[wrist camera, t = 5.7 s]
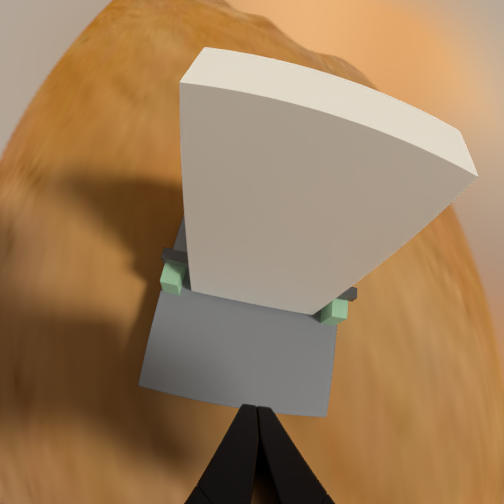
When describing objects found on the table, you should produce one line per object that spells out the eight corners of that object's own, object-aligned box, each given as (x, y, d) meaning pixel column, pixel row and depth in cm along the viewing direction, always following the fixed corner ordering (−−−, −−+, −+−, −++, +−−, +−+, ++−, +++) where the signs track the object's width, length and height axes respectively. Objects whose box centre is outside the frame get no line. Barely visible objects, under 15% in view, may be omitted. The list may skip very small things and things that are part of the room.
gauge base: (317, 415, 14) (380, 425, 8) (143, 385, 13) (104, 384, 8) (333, 253, 18) (383, 195, 12) (185, 221, 17) (182, 146, 12)
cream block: (337, 319, 15) (513, 197, 5) (163, 284, 14) (107, 77, 4) (339, 291, 15) (494, 152, 5) (171, 256, 15) (142, 42, 5)
